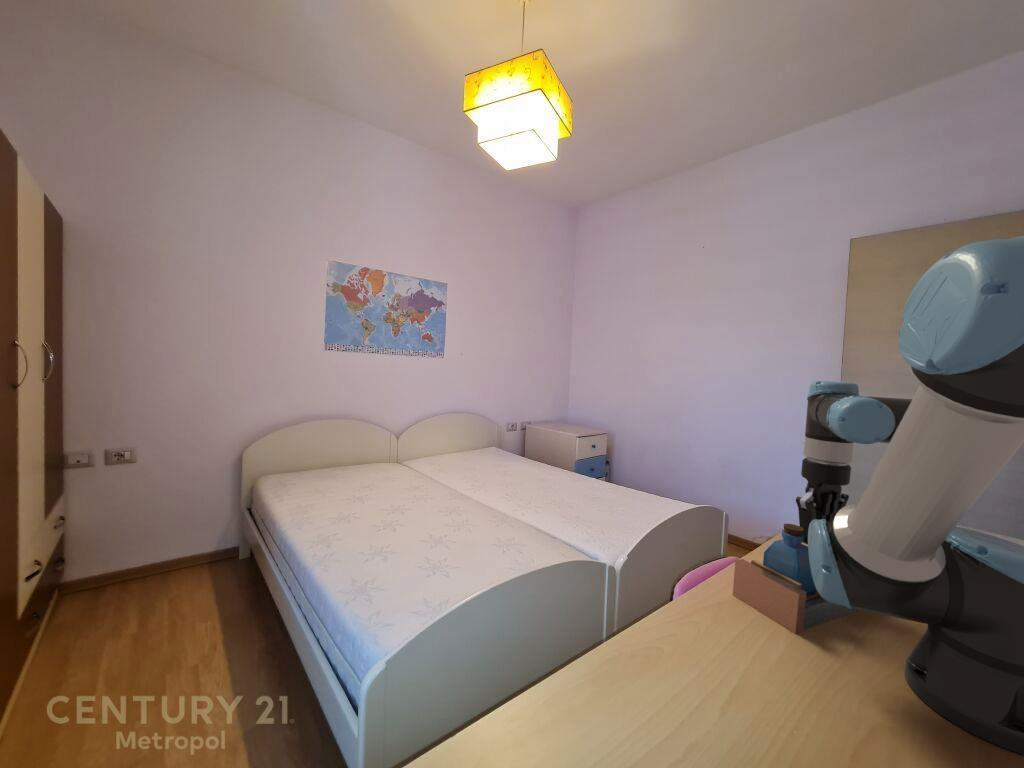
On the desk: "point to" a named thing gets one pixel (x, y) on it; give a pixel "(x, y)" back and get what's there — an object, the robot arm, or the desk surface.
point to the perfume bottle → (791, 558)
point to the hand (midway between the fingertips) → (815, 577)
